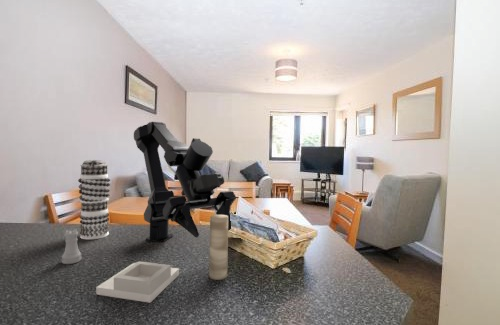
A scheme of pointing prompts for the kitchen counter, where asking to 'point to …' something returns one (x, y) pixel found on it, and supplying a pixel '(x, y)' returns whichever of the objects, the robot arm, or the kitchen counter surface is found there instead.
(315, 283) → the kitchen counter surface
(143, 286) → the socket base
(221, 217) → the birch post
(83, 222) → the decorative candle
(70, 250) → the rook chess piece
